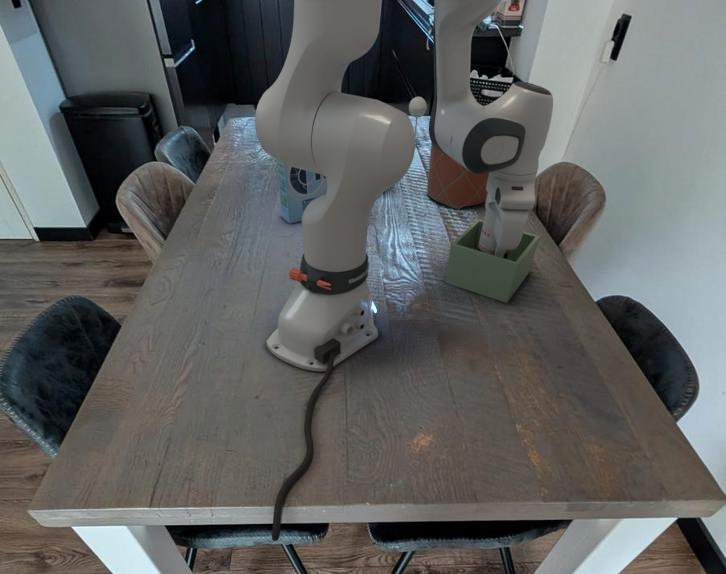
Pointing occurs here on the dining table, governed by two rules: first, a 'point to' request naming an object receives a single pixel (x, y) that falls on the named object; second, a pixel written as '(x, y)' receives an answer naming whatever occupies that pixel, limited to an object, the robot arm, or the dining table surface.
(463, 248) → the basket
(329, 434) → the dining table surface
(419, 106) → the lollipop
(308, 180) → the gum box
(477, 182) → the planter
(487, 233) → the beverage can
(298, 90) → the robot arm
